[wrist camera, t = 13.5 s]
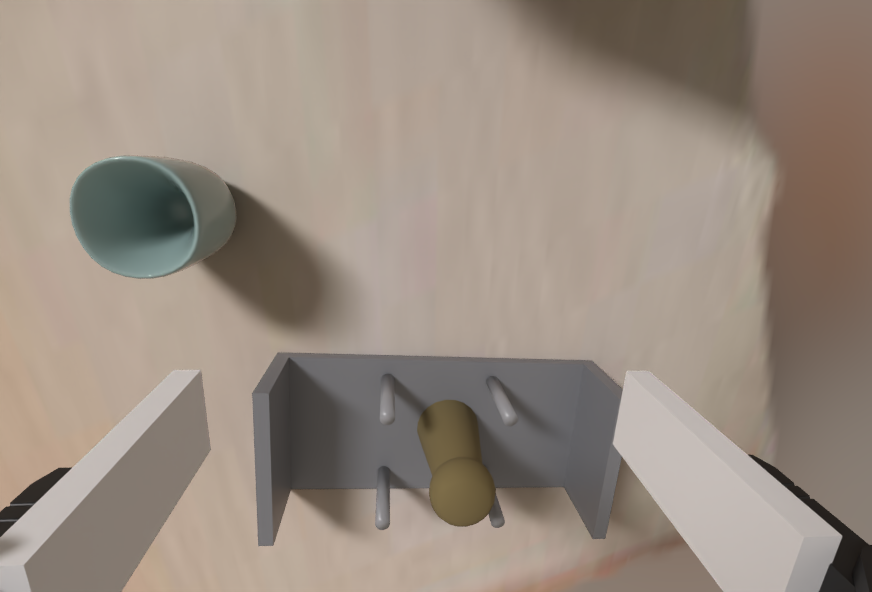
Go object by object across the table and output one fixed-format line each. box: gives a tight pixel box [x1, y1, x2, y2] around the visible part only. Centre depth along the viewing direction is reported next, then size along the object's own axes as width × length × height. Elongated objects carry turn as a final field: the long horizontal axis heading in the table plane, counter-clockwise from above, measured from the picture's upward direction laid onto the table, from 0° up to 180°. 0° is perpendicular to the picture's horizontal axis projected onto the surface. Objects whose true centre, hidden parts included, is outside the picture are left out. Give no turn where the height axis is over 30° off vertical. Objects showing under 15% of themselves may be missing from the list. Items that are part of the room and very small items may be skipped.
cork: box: [417, 400, 496, 526], centre depth 39 cm, size 6×6×11 cm
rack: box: [252, 353, 623, 546], centre depth 41 cm, size 30×14×8 cm, turn 86°
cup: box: [70, 155, 237, 279], centre depth 33 cm, size 8×8×10 cm
